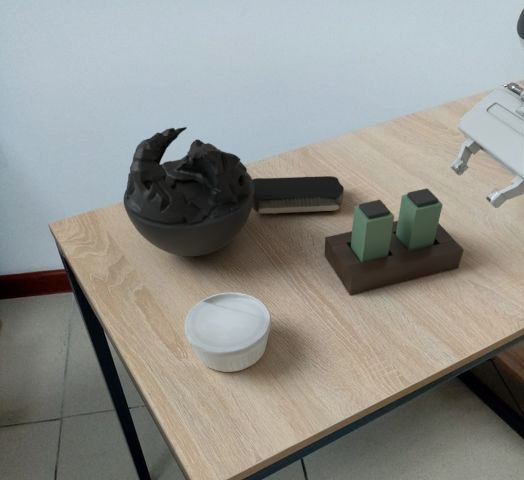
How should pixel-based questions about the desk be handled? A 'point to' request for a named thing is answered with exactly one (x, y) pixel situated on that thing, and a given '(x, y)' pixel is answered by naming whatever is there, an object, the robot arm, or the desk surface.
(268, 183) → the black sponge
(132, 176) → the dark sculpted bowl
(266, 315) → the ramekin
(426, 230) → the green capped post
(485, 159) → the desk surface
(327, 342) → the desk surface
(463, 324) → the desk surface
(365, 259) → the green square peg
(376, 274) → the socket block
